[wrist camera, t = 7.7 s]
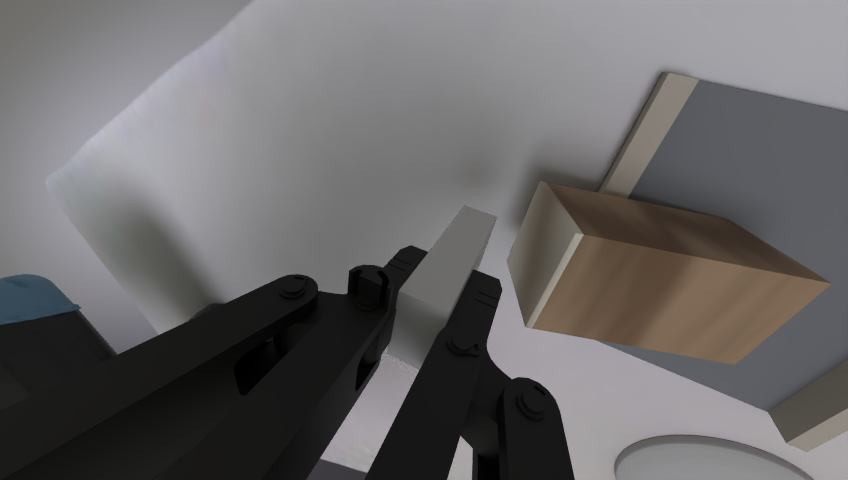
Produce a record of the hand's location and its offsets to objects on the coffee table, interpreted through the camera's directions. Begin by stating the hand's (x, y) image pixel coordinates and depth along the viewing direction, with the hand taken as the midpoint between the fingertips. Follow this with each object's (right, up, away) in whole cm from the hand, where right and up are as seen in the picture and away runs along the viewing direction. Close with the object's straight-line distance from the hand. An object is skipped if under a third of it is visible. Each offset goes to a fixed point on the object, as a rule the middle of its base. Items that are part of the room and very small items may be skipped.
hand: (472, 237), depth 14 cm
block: (+3, -1, 0) cm, 3 cm away
